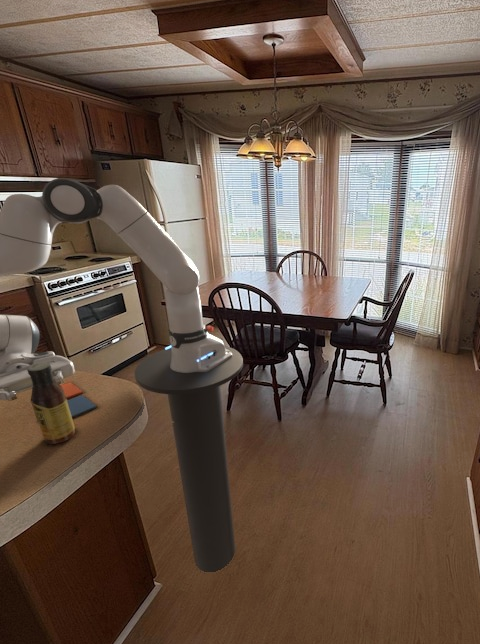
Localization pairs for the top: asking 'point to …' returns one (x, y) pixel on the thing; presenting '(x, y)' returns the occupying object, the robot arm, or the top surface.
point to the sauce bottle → (50, 405)
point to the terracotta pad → (70, 390)
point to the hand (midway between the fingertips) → (37, 389)
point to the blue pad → (80, 405)
